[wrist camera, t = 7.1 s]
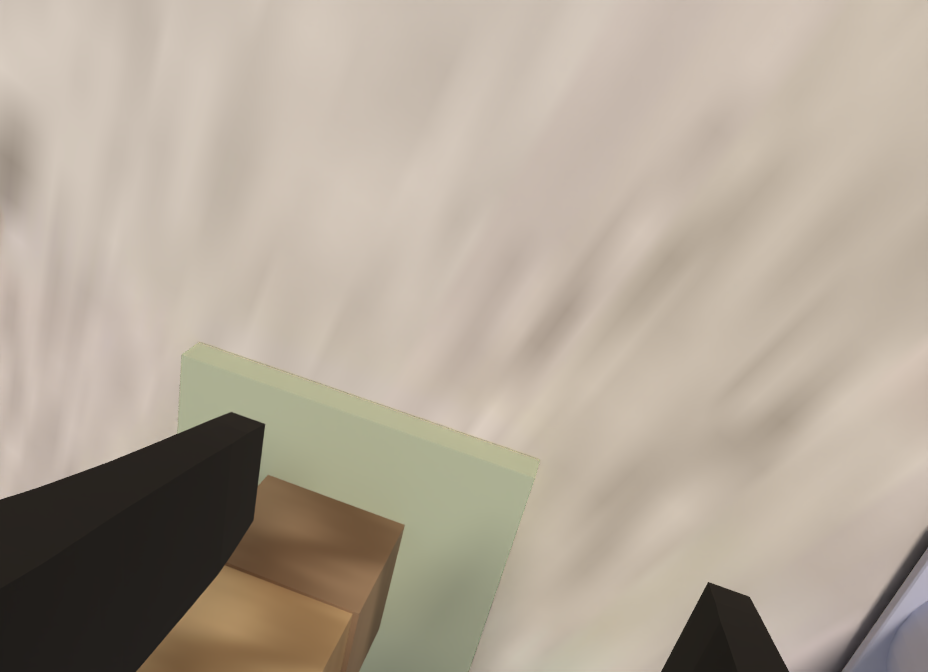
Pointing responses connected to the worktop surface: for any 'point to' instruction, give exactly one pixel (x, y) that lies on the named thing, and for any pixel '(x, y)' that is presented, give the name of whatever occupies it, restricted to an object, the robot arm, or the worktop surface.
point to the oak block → (253, 631)
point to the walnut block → (323, 555)
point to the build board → (384, 495)
